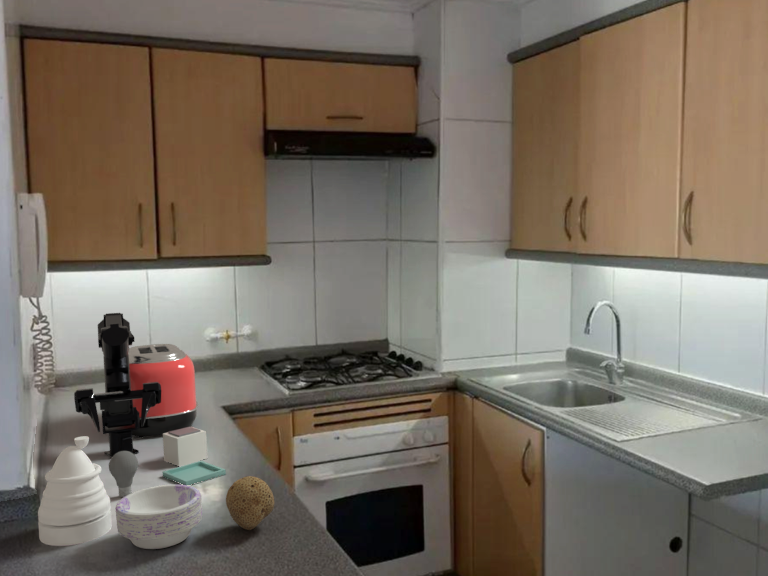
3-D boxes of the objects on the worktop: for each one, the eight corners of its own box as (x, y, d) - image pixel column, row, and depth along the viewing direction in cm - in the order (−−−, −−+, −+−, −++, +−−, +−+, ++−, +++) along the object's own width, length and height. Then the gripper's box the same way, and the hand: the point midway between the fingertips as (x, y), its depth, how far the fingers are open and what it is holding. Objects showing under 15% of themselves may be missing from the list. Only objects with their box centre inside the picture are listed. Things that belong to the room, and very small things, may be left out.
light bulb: (130, 489, 161) (127, 445, 160) (145, 495, 157) (142, 450, 156) (105, 497, 156) (102, 452, 155) (120, 503, 152) (117, 457, 151)
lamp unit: (164, 461, 180) (162, 432, 179) (193, 452, 186) (192, 424, 185) (179, 466, 175) (177, 437, 175) (208, 458, 181) (207, 429, 181)
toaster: (204, 433, 204) (200, 352, 202) (118, 444, 196) (113, 360, 194) (189, 408, 234) (185, 337, 232) (113, 417, 225) (109, 344, 223)
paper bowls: (103, 540, 134) (101, 498, 134) (178, 516, 145) (176, 477, 144) (141, 566, 123) (138, 521, 123) (218, 537, 134) (216, 496, 133)
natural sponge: (255, 514, 144) (253, 466, 143) (285, 525, 138) (283, 475, 138) (218, 529, 138) (215, 478, 137) (247, 542, 132) (245, 489, 131)
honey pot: (107, 513, 147) (102, 426, 146) (116, 535, 136) (110, 442, 135) (37, 526, 141) (31, 437, 140) (41, 551, 130) (34, 454, 129)
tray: (162, 476, 168) (162, 471, 168) (201, 465, 176) (201, 460, 176) (186, 486, 161) (186, 481, 161) (225, 474, 169) (225, 469, 169)
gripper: (157, 386, 180) (163, 441, 171) (77, 394, 174) (78, 452, 164) (158, 360, 173) (164, 416, 163) (73, 367, 166) (74, 426, 156)
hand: (120, 428), depth 162 cm, fingers open, 9 cm apart
